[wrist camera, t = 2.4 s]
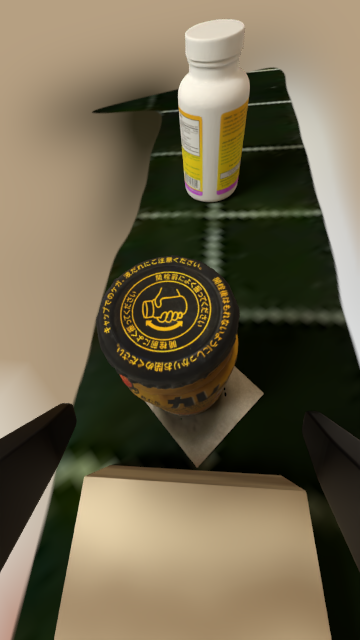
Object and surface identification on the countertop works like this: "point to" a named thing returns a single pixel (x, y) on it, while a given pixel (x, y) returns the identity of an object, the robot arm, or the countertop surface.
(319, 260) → the countertop surface
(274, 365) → the countertop surface
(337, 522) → the robot arm
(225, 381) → the condiment
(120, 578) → the wooden block
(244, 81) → the supplement bottle
